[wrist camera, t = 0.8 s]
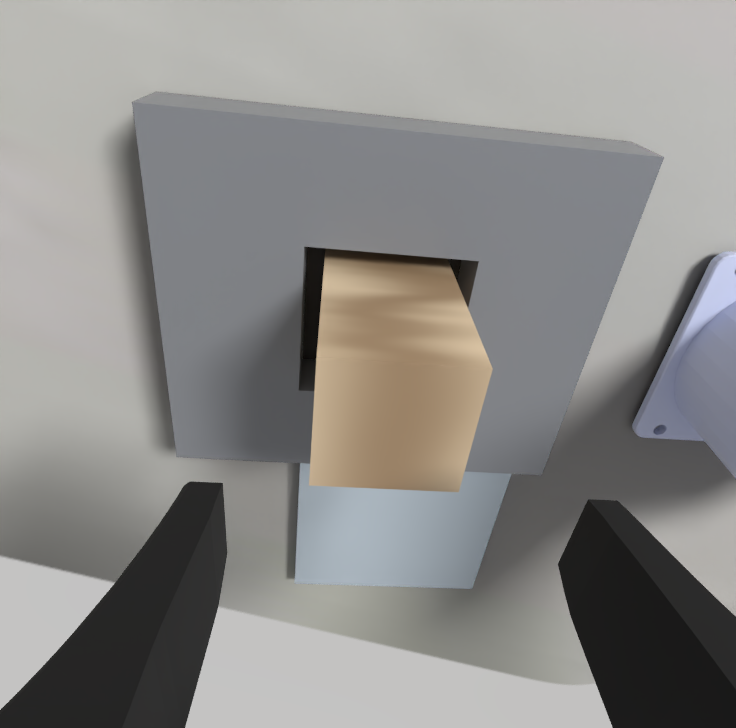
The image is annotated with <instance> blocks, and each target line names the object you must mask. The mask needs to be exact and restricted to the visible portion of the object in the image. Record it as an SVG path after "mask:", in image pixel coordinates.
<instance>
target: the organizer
mask: <svg viewBox="0 0 736 728" xmlns="http://www.w3.org/2000/svg"><path fill="white" fill-rule="evenodd" d="M132 105H133V113H134V121H135V129H136V137H137V145H138V153H139V161H140V169H141V177H142V185H143V193H144V201H145V209H146V217H147V225H148V233H149V241H150V249H151V257H152V265H153V273H154V281H155V289H156V297H157V305H158V313H159V321H160V329H161V337H162V345H163V353H164V361H165V369H166V377H167V385H168V393H169V401H170V408H171V416H172V424H173V432H174V440H175V448H176V456H177V457H185V458H205V459H225V460H245V461H265V462H285V463H305V464H310V459H311V442H312V425H313V408H314V391H315V374H316V360H311V359H303V337H304V313H305V289H306V266H307V247H315V248H327V249H339V250H351V251H363V252H375V253H387V254H399V255H411V256H423V257H435V258H447V259H458V260H462V261H461V266H460V271H459V276H458V280H457V283H458V285H459V288H460V290H461V293H462V295H463V297H464V300H465V302H466V305H467V307H468V310H469V312H470V314H471V317H472V319H473V322H474V324H475V327H476V329H477V332H478V334H479V336H480V339H481V341H482V344H483V346H484V349H485V351H486V354H487V356H488V358H489V361H490V363H491V366H492V368H493V370H492V374H491V377H490V381H489V384H488V388H487V392H486V395H485V399H484V403H483V406H482V410H481V413H480V417H479V421H478V424H477V428H476V432H475V435H474V439H473V442H472V446H471V450H470V453H469V457H468V461H467V464H466V468H465V472H485V473H505V474H526V475H542V473H543V470H544V468H545V465H546V463H547V460H548V457H549V455H550V452H551V450H552V447H553V444H554V442H555V439H556V437H557V434H558V431H559V429H560V426H561V424H562V421H563V418H564V416H565V413H566V411H567V408H568V405H569V403H570V400H571V398H572V395H573V392H574V390H575V387H576V385H577V382H578V380H579V377H580V374H581V372H582V369H583V367H584V364H585V361H586V359H587V356H588V354H589V351H590V348H591V346H592V343H593V341H594V338H595V335H596V333H597V330H598V328H599V325H600V322H601V320H602V317H603V315H604V312H605V309H606V307H607V304H608V302H609V299H610V297H611V294H612V291H613V289H614V286H615V284H616V281H617V278H618V276H619V273H620V271H621V268H622V265H623V263H624V260H625V258H626V255H627V252H628V250H629V247H630V245H631V242H632V239H633V237H634V234H635V232H636V229H637V226H638V224H639V221H640V219H641V216H642V214H643V211H644V208H645V206H646V203H647V201H648V198H649V195H650V193H651V190H652V188H653V185H654V182H655V180H656V177H657V175H658V172H659V169H660V167H661V164H662V162H663V159H664V157H663V156H661V155H658V154H656V153H654V152H652V151H650V150H648V149H646V148H643V147H641V146H639V145H637V144H635V143H633V142H627V141H618V140H608V139H599V138H589V137H580V136H571V135H561V134H552V133H542V132H533V131H523V130H514V129H504V128H495V127H485V126H476V125H466V124H457V123H447V122H438V121H429V120H419V119H410V118H400V117H391V116H381V115H372V114H362V113H353V112H343V111H334V110H324V109H315V108H305V107H296V106H286V105H277V104H268V103H258V102H249V101H239V100H230V99H220V98H211V97H201V96H192V95H182V94H173V93H163V92H154V93H152V94H149V95H147V96H145V97H142V98H140V99H138V100H136V101H133V102H132Z"/></svg>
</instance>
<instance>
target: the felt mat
mask: <svg viewBox="0 0 736 728" xmlns="http://www.w3.org/2000/svg"><path fill="white" fill-rule="evenodd" d="M309 476H310V464H305V463H300V475H299V497H298V520H297V542H296V565H295V583H297V584H329V585H362V586H394V587H426V588H458V589H472V588H473V585H474V582H475V579H476V576H477V573H478V570H479V567H480V564H481V562H482V559H483V556H484V553H485V550H486V547H487V544H488V541H489V538H490V535H491V532H492V529H493V527H494V524H495V521H496V518H497V515H498V512H499V509H500V506H501V503H502V500H503V497H504V494H505V491H506V489H507V486H508V483H509V480H510V477H511V474H505V473H485V472H464V475H463V479H462V482H461V486H460V490H459V492H440V491H418V490H397V489H375V488H353V487H331V486H309Z"/></svg>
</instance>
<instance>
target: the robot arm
mask: <svg viewBox="0 0 736 728" xmlns="http://www.w3.org/2000/svg"><path fill="white" fill-rule="evenodd" d="M735 270H736V252H731V251H728V252H723V253H720V254H718V255H717V256H715V257H714V258H713V259H712V260H711V262H710V263H709V265H708V267H707V269H706V271H705V273H704V275H703V278H702V280H701V282H700V284H699V286H698V288H697V290H696V292H695V294H694V296H693V298H692V300H691V303H690V305H689V307H688V309H687V311H686V313H685V315H684V317H683V319H682V321H681V323H680V326H679V328H678V330H677V332H676V334H675V336H674V338H673V340H672V342H671V344H670V346H669V349H668V351H667V353H666V355H665V357H664V359H663V361H662V363H661V365H660V367H659V369H658V372H657V374H656V376H655V378H654V380H653V382H652V384H651V386H650V388H649V390H648V392H647V394H646V397H645V399H644V401H643V403H642V405H641V407H640V409H639V411H638V413H637V415H636V417H635V420H634V422H633V425H632V428H633V430H634V432H635V433H636V435H638V436H639V437H642V438H657V439H675V440H693V441H705V442H706V444H707V445H708V446H709V447H710V448H711V450H712V451H713V452H714V453H715V454H716V456H717V457H718V458H719V459H720V460H721V462H722V463H723V464H724V465H725V466H726V468H727V469H728V470H729V471H730V472H731V474H732V475H733V476H734V477H735V478H736V273H735ZM659 425H660V426H659ZM657 426H659V427H657ZM656 427H657V428H656ZM226 557H227V543H226V528H225V512H224V497H223V483H209V482H189V483H187V484H186V485H184V487H183V488H182V490H181V492H180V493H179V495H178V496H177V498H176V500H175V501H174V503H173V504H172V506H171V507H170V509H169V510H168V512H167V513H166V515H165V516H164V518H163V519H162V521H161V522H160V524H159V525H158V526H157V528H156V529H155V531H154V532H153V533H152V535H151V536H150V538H149V539H148V540H147V542H146V543H145V545H144V546H143V547H142V549H141V550H140V551H139V553H138V554H137V555H136V556H135V558H134V559H133V560H132V562H131V563H130V564H129V566H128V567H127V568H126V570H125V571H124V572H123V573H122V575H121V576H120V577H119V579H118V580H117V581H116V583H115V584H114V585H113V586H112V588H111V589H110V590H109V591H108V592H107V594H106V595H105V596H104V597H103V598H102V600H101V601H100V602H99V603H98V604H97V605H96V607H95V608H94V609H93V610H92V611H91V613H90V614H89V615H88V616H87V617H86V619H85V620H84V621H83V622H82V623H81V625H80V626H79V627H78V628H77V629H76V630H75V632H74V633H73V634H72V635H71V636H70V637H69V639H67V641H66V642H65V643H64V644H63V645H62V646H61V647H60V649H59V650H58V651H57V652H56V653H55V654H54V655H53V656H52V657H51V658H50V659H49V661H48V662H47V663H46V664H45V665H44V666H43V667H42V668H41V669H40V670H39V671H38V672H37V673H36V674H35V675H34V676H33V677H32V678H31V679H30V680H29V682H28V683H27V684H26V685H25V686H24V687H23V688H22V689H21V690H20V691H19V692H18V693H17V694H16V695H15V696H14V697H13V698H12V699H11V700H10V701H9V702H8V703H7V704H6V705H5V706H4V707H3V708H2V709H1V710H0V728H185V725H186V721H187V718H188V714H189V711H190V707H191V704H192V700H193V696H194V693H195V689H196V685H197V682H198V678H199V675H200V671H201V667H202V664H203V660H204V657H205V653H206V649H207V646H208V642H209V638H210V635H211V631H212V627H213V623H214V620H215V616H216V613H217V609H218V604H219V599H220V593H221V587H222V581H223V575H224V569H225V563H226ZM558 566H559V570H560V575H561V579H562V583H563V588H564V592H565V596H566V600H567V604H568V607H569V611H570V615H571V618H572V621H573V624H574V626H575V629H576V632H577V634H578V637H579V640H580V642H581V645H582V648H583V651H584V653H585V656H586V659H587V661H588V664H589V666H590V669H591V672H592V674H593V677H594V680H595V682H596V685H597V687H598V690H599V692H600V695H601V698H602V700H603V703H604V706H605V708H606V711H607V714H608V716H609V719H610V721H611V724H612V727H613V728H736V617H735V616H734V615H733V614H732V613H731V612H730V611H729V610H728V609H727V608H726V607H725V606H724V605H723V604H722V603H721V602H719V601H718V600H717V599H716V598H715V597H714V596H713V595H712V594H711V593H710V592H709V591H708V590H707V589H706V588H705V587H704V586H703V585H702V584H701V583H700V582H699V581H698V580H697V579H696V578H695V577H694V576H693V575H692V574H691V573H690V572H689V571H688V570H687V569H686V568H685V567H684V566H683V565H682V564H681V563H680V562H679V561H678V560H677V559H676V558H675V557H674V556H673V555H672V554H671V553H670V552H669V551H668V550H667V549H666V548H665V547H664V546H663V545H662V544H661V543H660V542H659V541H658V540H657V539H656V538H655V537H654V536H653V535H652V534H651V533H650V532H649V531H648V530H647V529H646V528H645V527H644V526H643V525H642V524H641V523H640V522H639V521H638V520H637V519H636V518H635V517H634V516H633V515H632V514H631V513H630V512H629V511H628V510H627V509H626V508H624V507H623V506H622V505H621V504H620V503H619V502H618V501H611V500H588V501H587V503H586V505H585V508H584V510H583V512H582V514H581V516H580V518H579V520H578V523H577V525H576V527H575V529H574V531H573V533H572V535H571V538H570V540H569V542H568V544H567V546H566V548H565V550H564V552H563V555H562V557H561V559H560V561H559V563H558Z"/></svg>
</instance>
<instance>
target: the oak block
mask: <svg viewBox="0 0 736 728" xmlns="http://www.w3.org/2000/svg"><path fill="white" fill-rule="evenodd" d="M492 370H493V368H492V366H491V363H490V361H489V358H488V356H487V354H486V351H485V349H484V346H483V344H482V341H481V339H480V336H479V334H478V332H477V329H476V327H475V324H474V322H473V319H472V317H471V314H470V312H469V310H468V307H467V305H466V302H465V300H464V297H463V295H462V293H461V290H460V288H459V285H458V283H457V280H456V278H455V275H454V273H453V271H452V268H451V266H450V263H449V261H448V259H447V258H435V257H423V256H411V255H399V254H387V253H375V252H363V251H351V250H339V249H327V248H325V259H324V272H323V284H322V296H321V308H320V320H319V332H318V345H317V357H316V374H315V391H314V408H313V425H312V442H311V459H310V476H309V486H331V487H353V488H375V489H397V490H418V491H440V492H459V490H460V486H461V482H462V479H463V475H464V472H465V468H466V464H467V461H468V457H469V453H470V450H471V446H472V442H473V439H474V435H475V432H476V428H477V424H478V421H479V417H480V413H481V410H482V406H483V403H484V399H485V395H486V392H487V388H488V384H489V381H490V377H491V374H492Z"/></svg>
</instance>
